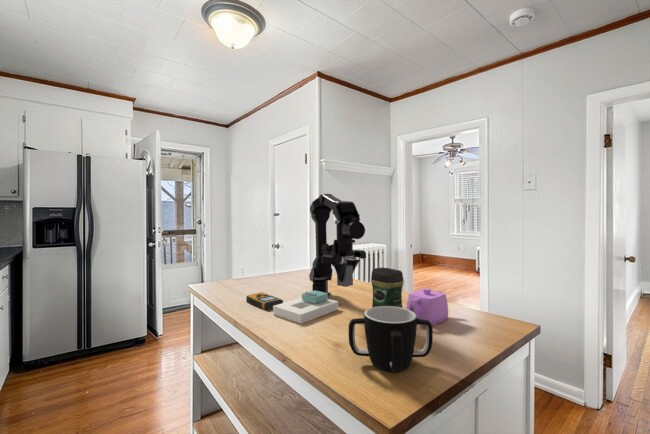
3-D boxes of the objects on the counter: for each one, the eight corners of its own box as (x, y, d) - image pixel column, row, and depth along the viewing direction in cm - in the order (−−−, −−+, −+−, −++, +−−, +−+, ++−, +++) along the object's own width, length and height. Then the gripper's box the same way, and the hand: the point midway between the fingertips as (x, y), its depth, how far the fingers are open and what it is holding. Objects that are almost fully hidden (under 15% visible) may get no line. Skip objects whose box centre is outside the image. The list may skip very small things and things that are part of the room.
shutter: (314, 296, 121) (314, 288, 121) (327, 299, 116) (327, 291, 116) (302, 300, 116) (301, 292, 116) (315, 303, 111) (315, 295, 111)
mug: (440, 367, 73) (440, 315, 72) (392, 390, 63) (392, 331, 63) (388, 343, 86) (388, 299, 86) (342, 359, 77) (342, 311, 76)
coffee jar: (408, 329, 95) (408, 268, 95) (391, 336, 91) (391, 272, 90) (383, 320, 103) (383, 264, 103) (367, 326, 98) (366, 267, 98)
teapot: (429, 309, 114) (429, 281, 114) (456, 317, 106) (456, 287, 106) (398, 321, 103) (398, 290, 103) (426, 330, 95) (426, 296, 95)
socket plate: (310, 302, 124) (310, 294, 124) (338, 309, 115) (338, 301, 115) (273, 314, 110) (273, 305, 110) (300, 323, 101) (300, 314, 101)
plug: (344, 283, 114) (343, 259, 114) (352, 284, 111) (352, 260, 111) (337, 285, 111) (336, 261, 111) (346, 286, 108) (345, 262, 108)
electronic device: (263, 299, 132) (263, 291, 132) (284, 307, 120) (283, 298, 120) (245, 302, 126) (244, 294, 126) (264, 311, 115) (264, 302, 115)
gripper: (343, 234, 123) (343, 273, 124) (309, 237, 109) (310, 282, 110) (366, 235, 116) (367, 277, 116) (334, 239, 102) (334, 286, 102)
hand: (344, 280), depth 111 cm, fingers closed on plug, 4 cm apart
